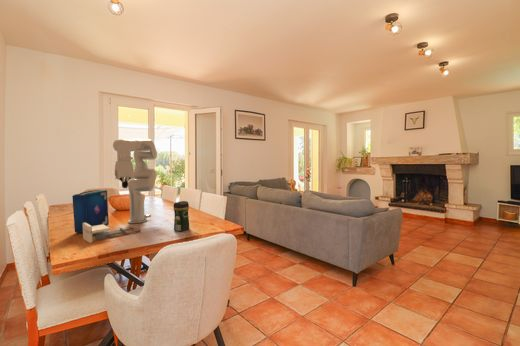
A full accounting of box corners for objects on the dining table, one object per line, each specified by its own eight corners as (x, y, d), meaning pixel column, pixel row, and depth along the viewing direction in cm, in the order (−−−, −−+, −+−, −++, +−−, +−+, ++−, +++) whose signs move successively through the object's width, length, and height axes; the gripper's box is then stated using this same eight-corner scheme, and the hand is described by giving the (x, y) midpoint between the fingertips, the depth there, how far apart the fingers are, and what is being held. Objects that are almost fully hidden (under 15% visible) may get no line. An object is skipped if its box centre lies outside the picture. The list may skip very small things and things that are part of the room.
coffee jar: (181, 227, 172) (181, 200, 171) (191, 228, 168) (190, 200, 168) (171, 231, 163) (171, 202, 162) (181, 232, 160) (181, 203, 159)
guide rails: (133, 228, 168) (133, 227, 168) (140, 231, 161) (140, 230, 161) (103, 234, 155) (103, 232, 155) (109, 238, 148) (109, 236, 148)
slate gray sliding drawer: (121, 232, 160) (121, 227, 160) (125, 235, 155) (125, 229, 155) (92, 238, 149) (91, 232, 149) (95, 241, 144) (94, 235, 144)
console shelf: (103, 234, 155) (103, 219, 155) (110, 238, 147) (109, 223, 147) (83, 238, 147) (82, 222, 147) (89, 242, 139) (88, 226, 139)
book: (81, 234, 155) (80, 193, 154) (72, 233, 156) (70, 193, 155) (109, 225, 176) (108, 189, 175) (100, 225, 177) (99, 189, 176)
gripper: (133, 159, 169) (134, 186, 170) (108, 159, 158) (109, 188, 159) (138, 159, 165) (139, 187, 166) (113, 159, 153) (114, 189, 154)
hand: (125, 187), depth 162 cm, fingers closed
